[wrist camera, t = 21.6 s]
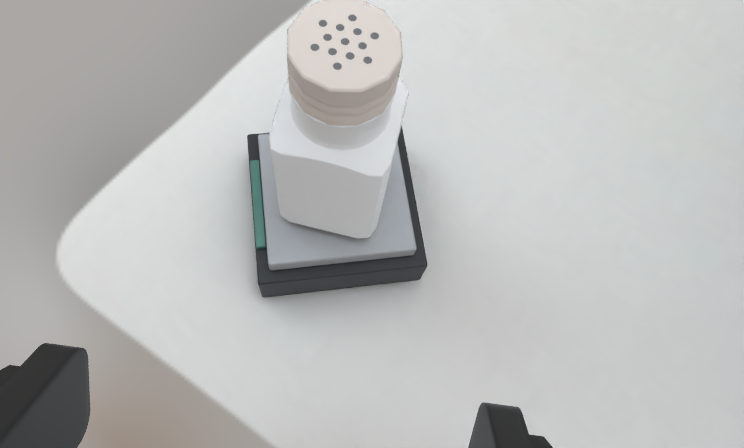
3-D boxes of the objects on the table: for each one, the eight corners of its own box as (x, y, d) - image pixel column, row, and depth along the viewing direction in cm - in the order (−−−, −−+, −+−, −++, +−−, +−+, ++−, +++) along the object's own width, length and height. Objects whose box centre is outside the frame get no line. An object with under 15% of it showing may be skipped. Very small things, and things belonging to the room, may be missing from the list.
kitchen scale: (262, 297, 26) (256, 279, 23) (251, 155, 28) (244, 124, 26) (420, 279, 27) (431, 259, 24) (396, 143, 29) (403, 112, 27)
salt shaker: (302, 140, 26) (293, -30, 17) (392, 162, 26) (431, 3, 17) (275, 223, 24) (250, 83, 15) (371, 247, 24) (402, 120, 15)
